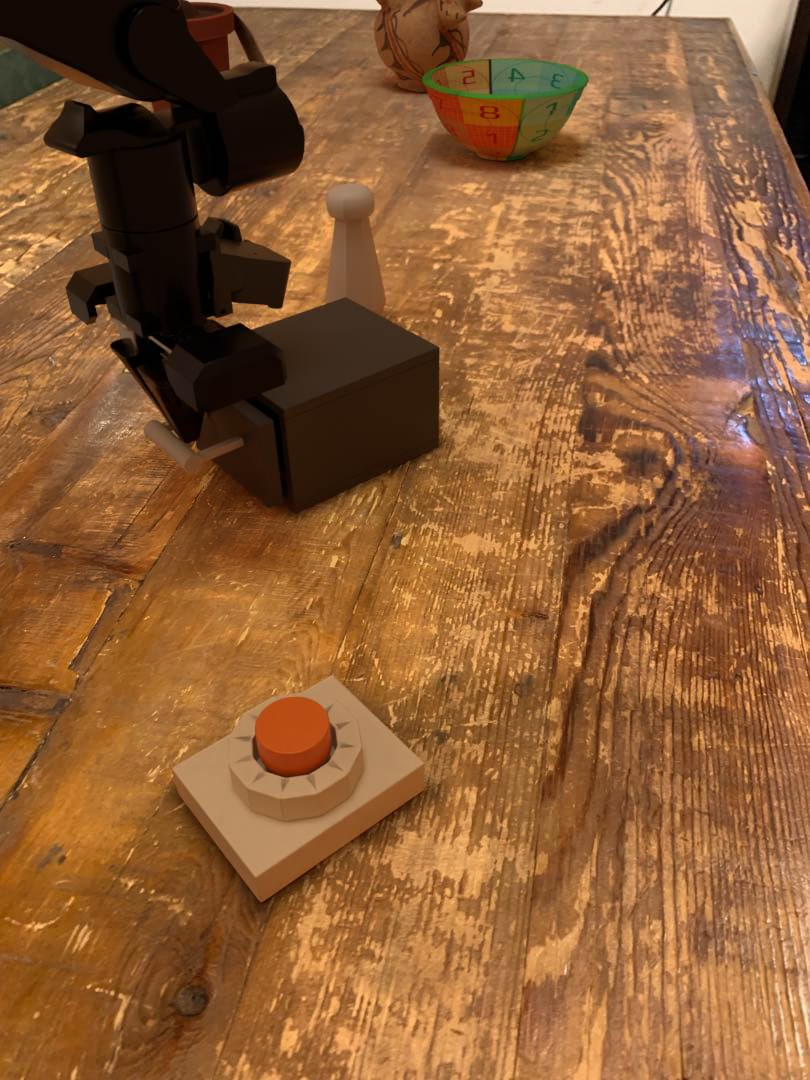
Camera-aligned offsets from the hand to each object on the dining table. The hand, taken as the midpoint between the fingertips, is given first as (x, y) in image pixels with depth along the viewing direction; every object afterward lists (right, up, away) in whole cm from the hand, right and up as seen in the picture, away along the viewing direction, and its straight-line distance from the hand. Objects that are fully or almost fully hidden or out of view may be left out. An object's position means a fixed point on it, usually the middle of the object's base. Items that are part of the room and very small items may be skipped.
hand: (190, 439), depth 66 cm
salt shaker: (+10, +14, +26) cm, 31 cm away
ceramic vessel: (+19, +71, +98) cm, 123 cm away
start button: (+10, -17, -19) cm, 28 cm away
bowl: (+29, +47, +68) cm, 87 cm away
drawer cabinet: (+9, 0, +9) cm, 12 cm away
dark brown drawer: (+5, -1, +6) cm, 8 cm away
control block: (+10, -20, -17) cm, 28 cm away
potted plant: (-14, +57, +81) cm, 100 cm away
